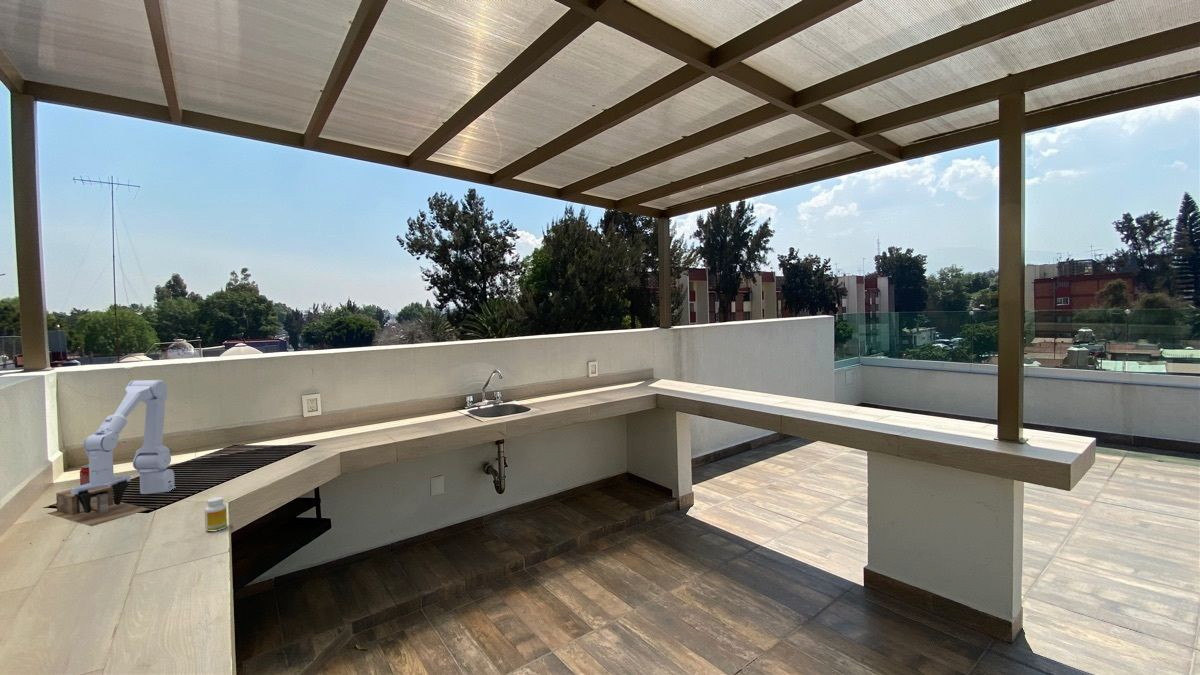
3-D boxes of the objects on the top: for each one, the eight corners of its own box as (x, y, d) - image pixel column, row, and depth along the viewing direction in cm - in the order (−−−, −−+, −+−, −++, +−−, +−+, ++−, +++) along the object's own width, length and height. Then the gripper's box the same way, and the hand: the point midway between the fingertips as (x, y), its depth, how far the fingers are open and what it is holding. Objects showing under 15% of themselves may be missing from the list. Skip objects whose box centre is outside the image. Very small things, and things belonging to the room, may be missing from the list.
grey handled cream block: (70, 509, 165) (69, 492, 165) (93, 503, 171) (93, 487, 171) (92, 515, 160) (92, 498, 160) (116, 509, 166) (115, 492, 166)
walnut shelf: (46, 516, 163) (45, 495, 162) (105, 500, 177) (104, 481, 176) (91, 529, 152) (91, 506, 152) (150, 511, 166) (149, 491, 166)
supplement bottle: (230, 527, 154) (229, 497, 154) (211, 533, 150) (210, 503, 149) (221, 524, 157) (220, 494, 156) (201, 530, 152) (200, 500, 152)
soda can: (89, 499, 178) (88, 467, 177) (75, 498, 179) (74, 466, 178) (111, 493, 184) (110, 462, 184) (97, 491, 186) (96, 461, 185)
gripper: (78, 476, 155) (80, 518, 155) (135, 464, 168) (136, 502, 169) (66, 474, 157) (68, 514, 158) (123, 462, 171) (124, 499, 171)
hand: (102, 508), depth 164 cm, fingers open, 7 cm apart
